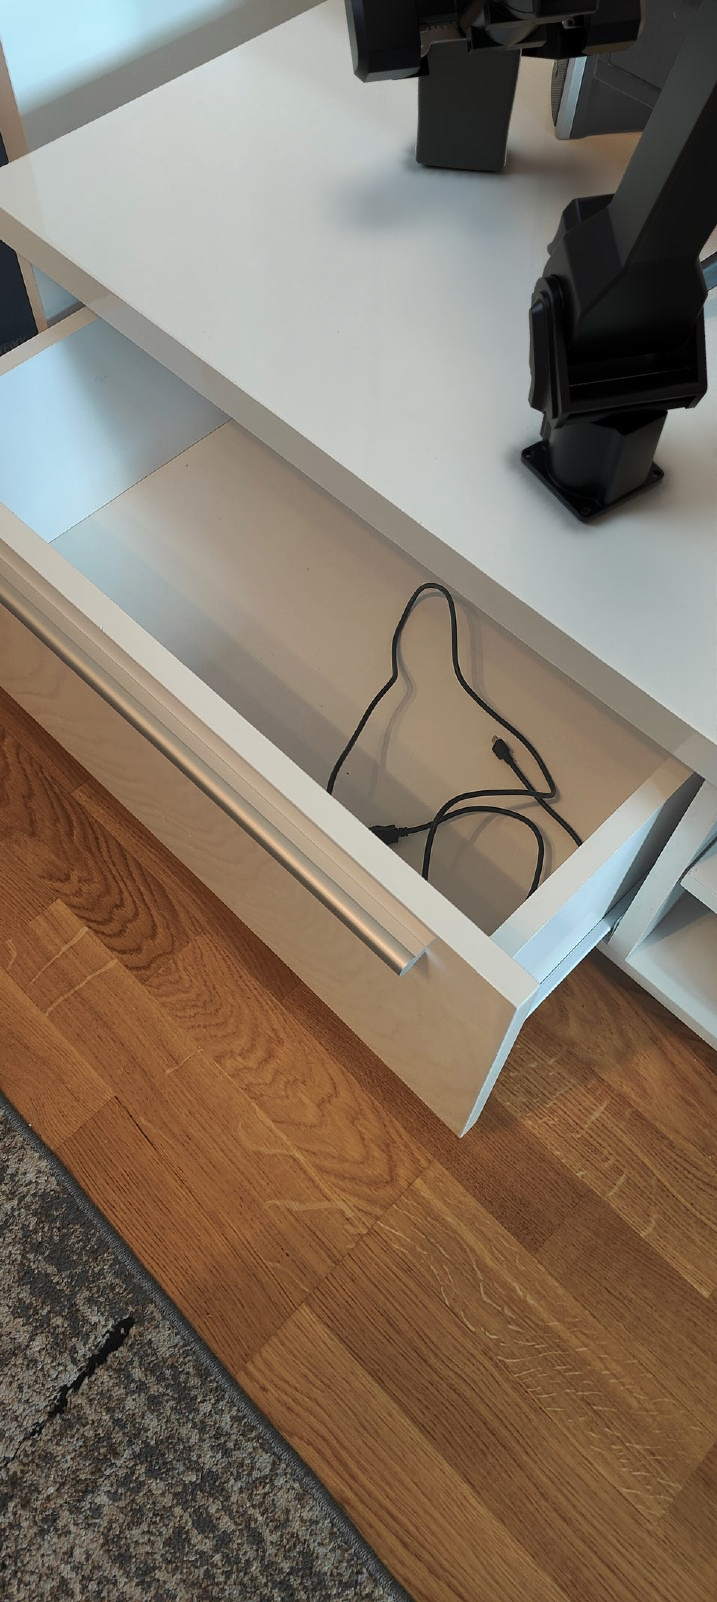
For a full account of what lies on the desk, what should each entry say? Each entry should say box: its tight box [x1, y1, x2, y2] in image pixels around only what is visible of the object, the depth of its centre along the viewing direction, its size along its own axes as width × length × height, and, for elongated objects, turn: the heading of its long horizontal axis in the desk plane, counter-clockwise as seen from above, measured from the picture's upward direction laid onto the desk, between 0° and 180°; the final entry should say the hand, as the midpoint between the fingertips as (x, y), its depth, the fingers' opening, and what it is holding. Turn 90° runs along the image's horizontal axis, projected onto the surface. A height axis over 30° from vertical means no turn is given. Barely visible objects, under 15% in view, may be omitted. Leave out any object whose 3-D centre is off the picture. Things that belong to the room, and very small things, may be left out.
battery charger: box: [414, 21, 522, 171], centre depth 79 cm, size 7×4×11 cm, turn 83°
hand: (462, 52), depth 79 cm, fingers closed on battery charger, 7 cm apart
